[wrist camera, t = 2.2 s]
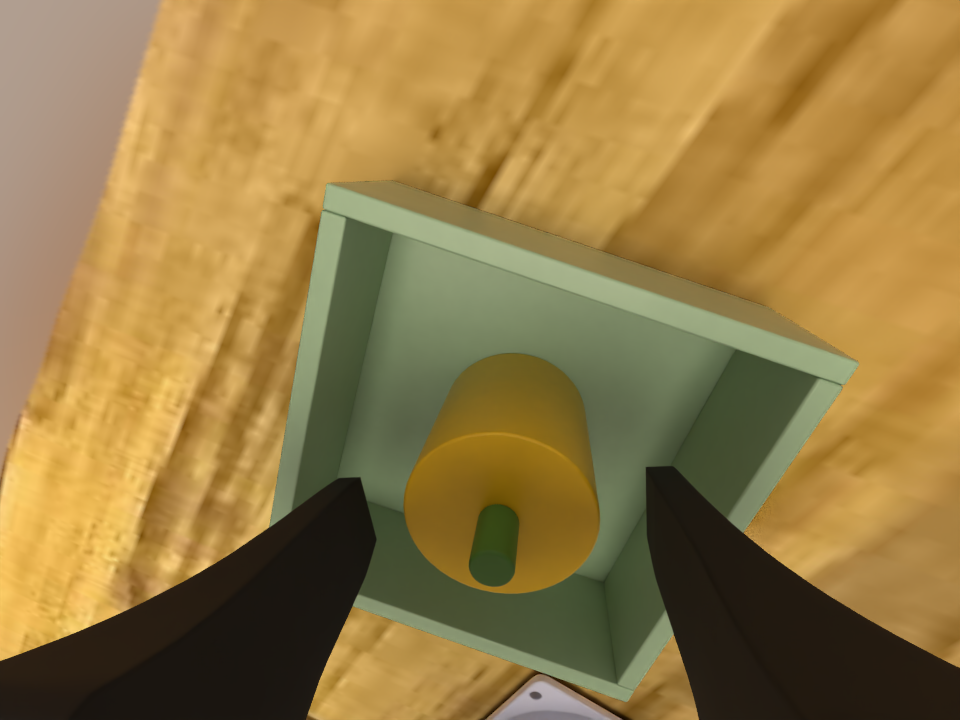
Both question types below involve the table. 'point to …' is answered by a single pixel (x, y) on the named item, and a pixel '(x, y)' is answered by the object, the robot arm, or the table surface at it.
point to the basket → (590, 366)
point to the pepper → (506, 479)
